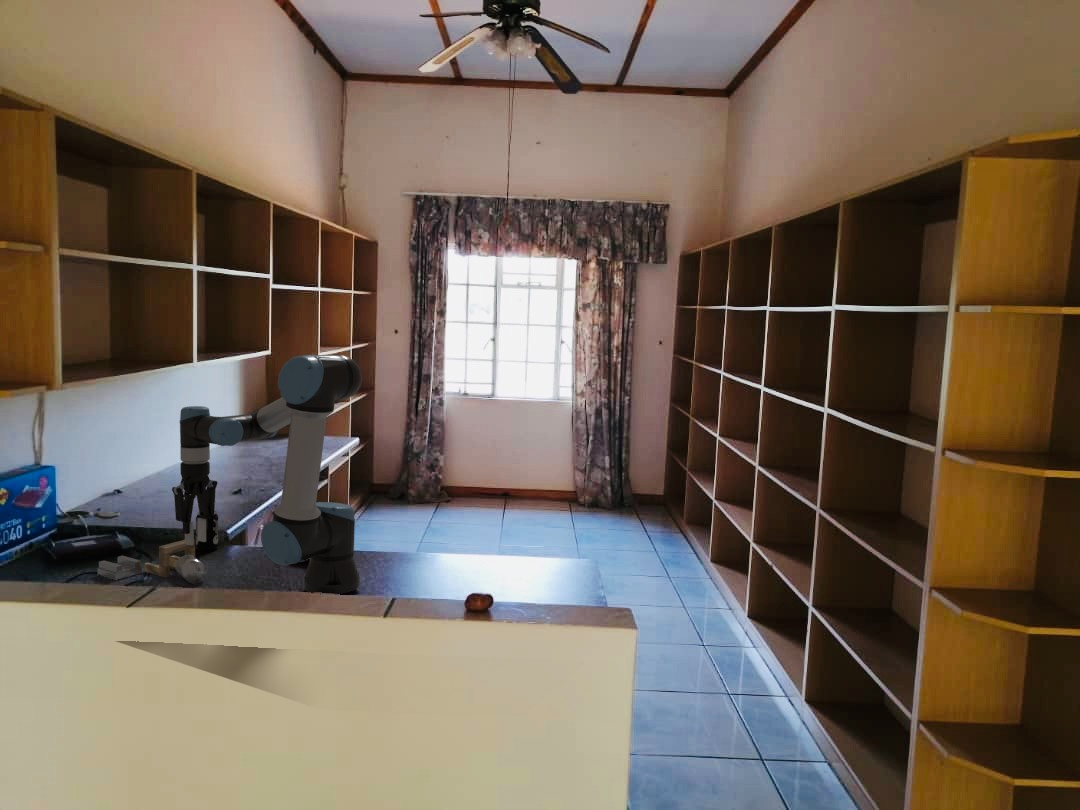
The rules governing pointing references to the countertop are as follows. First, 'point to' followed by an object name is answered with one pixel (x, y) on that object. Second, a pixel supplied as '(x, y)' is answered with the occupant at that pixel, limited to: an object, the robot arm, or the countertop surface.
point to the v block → (120, 568)
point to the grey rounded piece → (191, 569)
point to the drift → (173, 563)
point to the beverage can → (208, 534)
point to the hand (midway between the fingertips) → (195, 542)
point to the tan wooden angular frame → (168, 557)
